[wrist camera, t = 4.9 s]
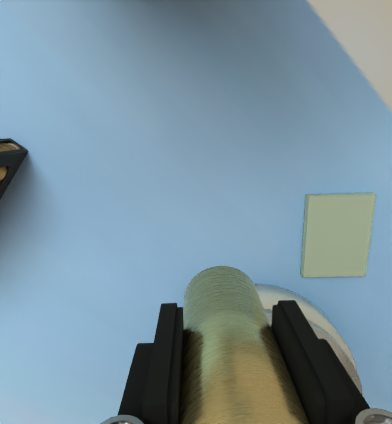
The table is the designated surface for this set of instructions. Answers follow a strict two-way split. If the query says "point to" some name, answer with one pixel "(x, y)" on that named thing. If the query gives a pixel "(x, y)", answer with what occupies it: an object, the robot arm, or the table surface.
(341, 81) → the table surface
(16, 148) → the ammunition clip
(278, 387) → the brass rounded cylinder
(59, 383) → the table surface
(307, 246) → the mat
